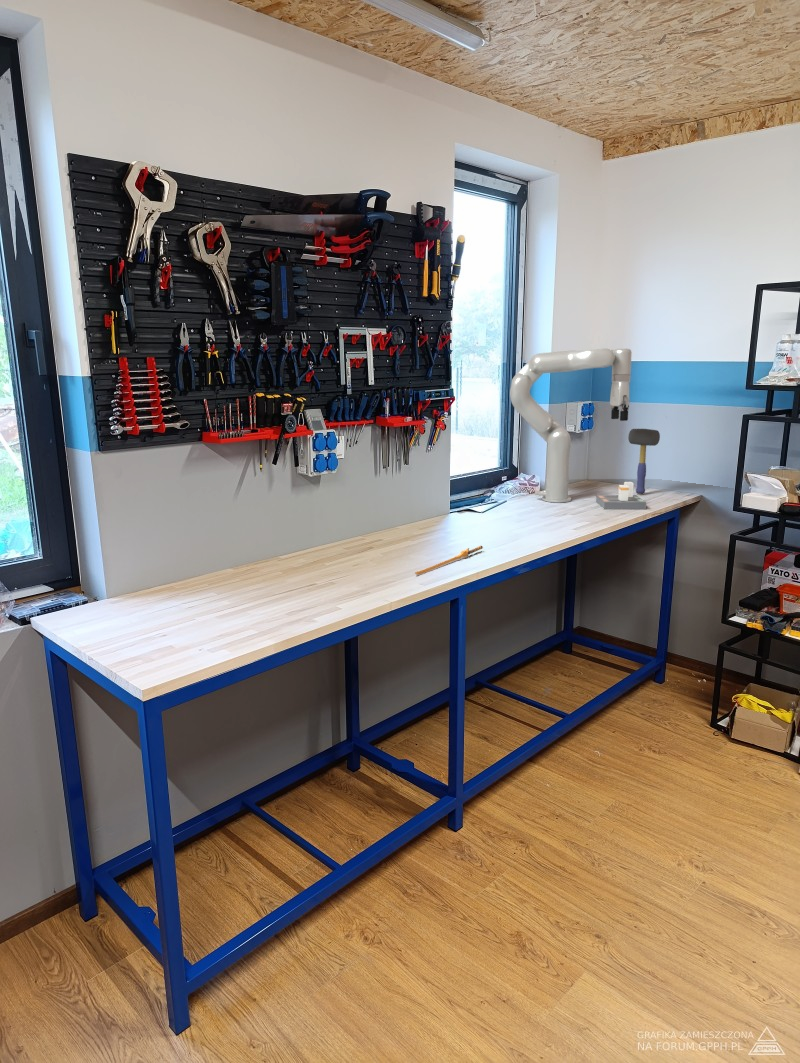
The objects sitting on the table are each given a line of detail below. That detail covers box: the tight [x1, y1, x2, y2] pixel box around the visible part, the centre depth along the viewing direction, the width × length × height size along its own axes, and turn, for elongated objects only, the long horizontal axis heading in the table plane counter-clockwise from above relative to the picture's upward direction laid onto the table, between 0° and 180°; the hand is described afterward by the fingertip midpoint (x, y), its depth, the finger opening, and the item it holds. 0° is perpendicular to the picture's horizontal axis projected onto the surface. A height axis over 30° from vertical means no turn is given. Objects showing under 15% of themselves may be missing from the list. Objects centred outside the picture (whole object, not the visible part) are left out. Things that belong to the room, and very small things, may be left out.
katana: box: [414, 545, 484, 577], centre depth 221 cm, size 1×35×3 cm, turn 141°
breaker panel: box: [595, 481, 647, 510], centre depth 304 cm, size 17×16×9 cm
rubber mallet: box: [627, 428, 661, 496], centre depth 326 cm, size 12×8×30 cm, turn 46°
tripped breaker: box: [618, 484, 629, 501], centre depth 300 cm, size 3×4×6 cm
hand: (619, 419), depth 307 cm, fingers open, 9 cm apart
